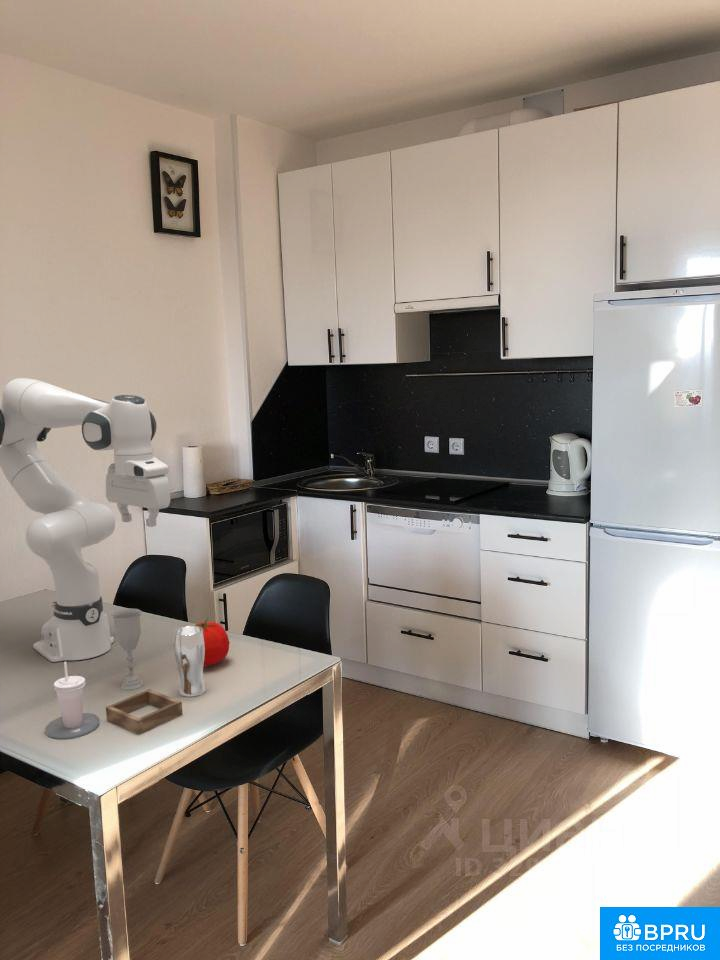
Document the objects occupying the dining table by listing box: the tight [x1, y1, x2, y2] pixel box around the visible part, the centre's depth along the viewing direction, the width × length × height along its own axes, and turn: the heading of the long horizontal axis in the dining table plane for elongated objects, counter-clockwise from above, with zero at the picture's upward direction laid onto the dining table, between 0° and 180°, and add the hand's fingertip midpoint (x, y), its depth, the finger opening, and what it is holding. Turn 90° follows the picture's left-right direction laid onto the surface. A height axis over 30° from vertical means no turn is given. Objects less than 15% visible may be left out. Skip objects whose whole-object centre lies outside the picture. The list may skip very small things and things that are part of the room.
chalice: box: [111, 608, 144, 690], centre depth 196 cm, size 7×7×18 cm
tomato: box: [194, 618, 230, 667], centre depth 208 cm, size 12×12×11 cm
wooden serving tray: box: [105, 689, 183, 735], centre depth 180 cm, size 12×12×3 cm
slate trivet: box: [44, 712, 101, 740], centre depth 177 cm, size 11×11×1 cm
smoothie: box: [53, 661, 86, 728], centre depth 176 cm, size 6×6×14 cm
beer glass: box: [173, 625, 206, 698], centre depth 192 cm, size 7×7×15 cm
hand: (139, 523), depth 193 cm, fingers open, 8 cm apart
